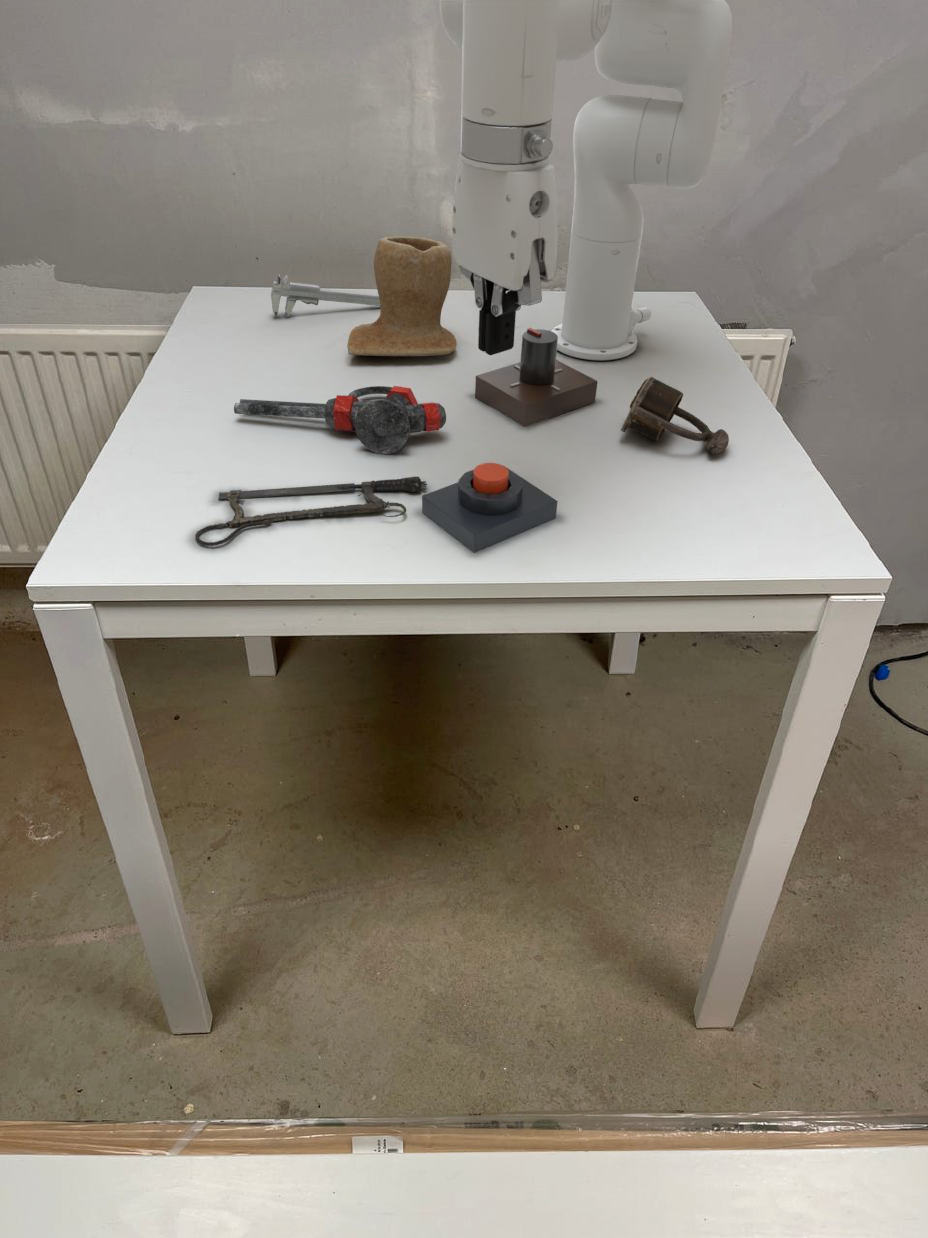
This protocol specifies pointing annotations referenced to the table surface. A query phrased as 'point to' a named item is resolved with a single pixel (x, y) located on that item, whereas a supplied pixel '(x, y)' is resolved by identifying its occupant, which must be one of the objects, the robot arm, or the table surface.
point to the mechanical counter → (668, 416)
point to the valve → (362, 415)
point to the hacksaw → (368, 487)
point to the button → (490, 478)
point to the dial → (538, 356)
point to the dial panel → (535, 393)
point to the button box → (488, 511)
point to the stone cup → (408, 300)
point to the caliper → (314, 295)
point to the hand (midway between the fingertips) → (495, 348)
